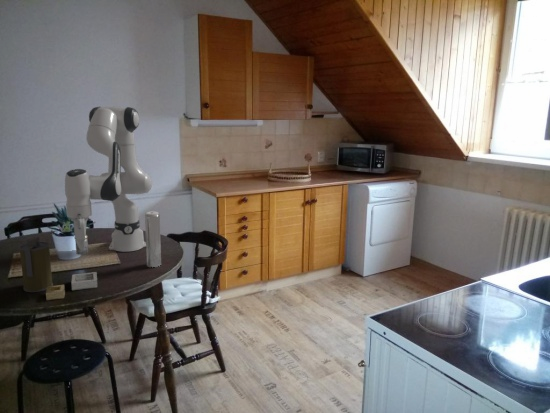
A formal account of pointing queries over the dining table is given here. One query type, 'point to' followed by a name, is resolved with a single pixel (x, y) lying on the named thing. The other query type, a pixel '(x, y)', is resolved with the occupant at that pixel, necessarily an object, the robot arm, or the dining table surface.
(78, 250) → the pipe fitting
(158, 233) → the light grey piece
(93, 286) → the wide socket
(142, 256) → the dining table surface
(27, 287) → the canister
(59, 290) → the narrow socket
